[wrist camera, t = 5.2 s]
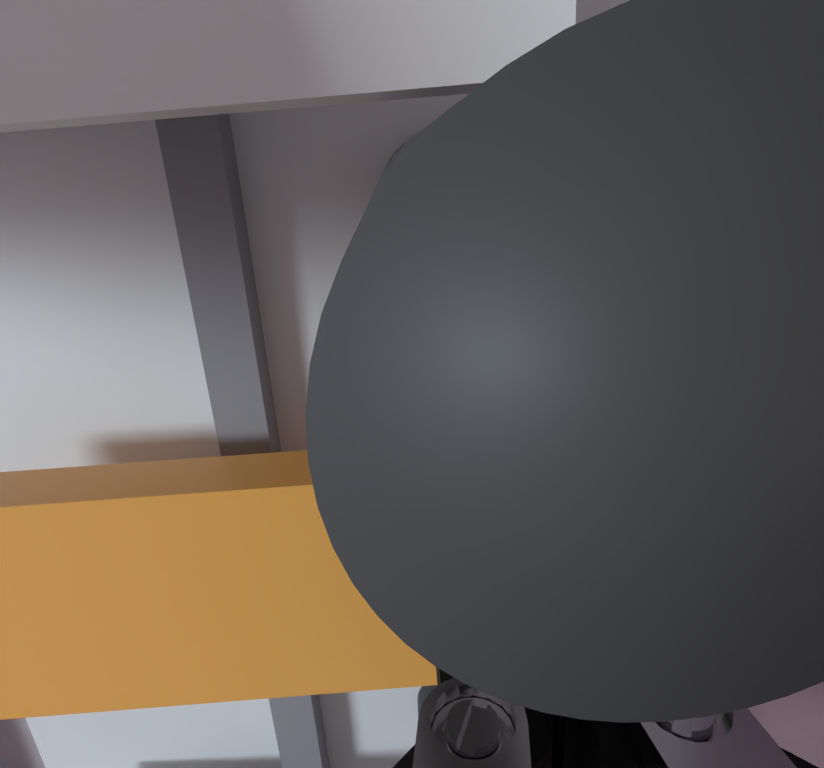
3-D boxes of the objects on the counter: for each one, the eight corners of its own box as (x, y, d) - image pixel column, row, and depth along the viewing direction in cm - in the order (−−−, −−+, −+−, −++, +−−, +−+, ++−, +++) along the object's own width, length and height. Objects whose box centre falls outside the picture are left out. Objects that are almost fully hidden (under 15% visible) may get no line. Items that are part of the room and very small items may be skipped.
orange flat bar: (536, 433, 11) (554, 466, 9) (532, 627, 12) (547, 676, 11) (-95, 478, 10) (-153, 518, 9) (-14, 670, 12) (-55, 724, 11)
